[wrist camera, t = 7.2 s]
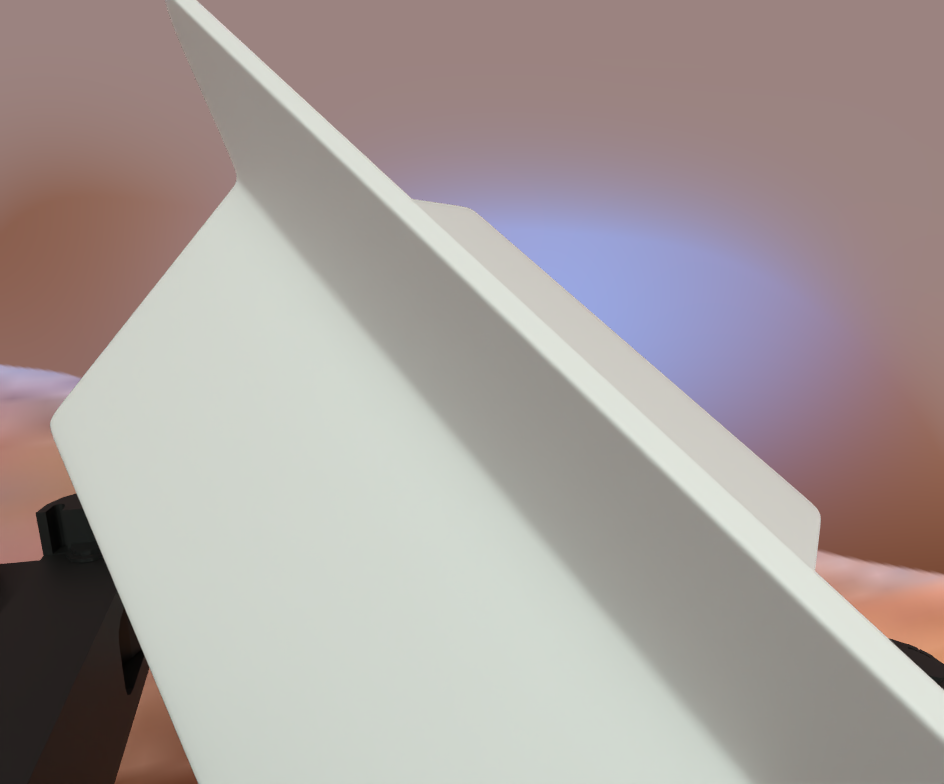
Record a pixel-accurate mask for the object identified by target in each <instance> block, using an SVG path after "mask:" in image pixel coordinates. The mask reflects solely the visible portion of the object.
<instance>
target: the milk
mask: <svg viewBox="0 0 944 784" xmlns="http://www.w3.org/2000/svg"><path fill="white" fill-rule="evenodd" d="M165 2H166V6H167V10H168V13H169V16H170V19H171V21H172V25H173V27H174V30H175V32H176V35H177V37H178V40H179V42H180V44H181V47H182V49H183V51H184V54H185V56H186V58H187V60H188V63H189V65H190V67H191V70H192V72H193V74H194V76H195V79H196V81H197V83H198V85H199V88H200V90H201V92H202V94H203V97H204V99H205V101H206V103H207V105H208V108H209V110H210V112H211V115H212V117H213V119H214V121H215V124H216V126H217V128H218V130H219V133H220V135H221V137H222V139H223V142H224V144H225V147H226V149H227V151H228V154H229V156H230V158H231V161H232V163H233V166H234V169H235V171H236V176H237V181H236V183H235V186H234V187H233V188H232V189H231V191H230V192H229V193H228V195H227V196H226V197H225V198H224V200H223V201H222V202H221V203H220V205H219V206H218V207H217V209H216V210H215V211H214V212H213V213H212V215H211V216H210V217H209V219H208V220H207V221H206V222H205V224H204V225H203V226H202V228H201V229H200V230H199V231H198V233H197V234H196V235H195V236H194V238H193V239H192V240H191V242H190V243H189V244H188V245H187V246H186V248H185V249H184V250H183V251H182V253H181V254H180V255H179V256H178V258H177V259H176V260H175V261H174V263H173V264H172V266H170V268H169V269H168V270H167V271H166V273H165V274H164V275H163V277H162V278H161V279H160V280H159V282H158V283H157V284H156V285H155V287H154V288H153V289H152V290H151V292H150V293H149V294H148V295H147V297H146V298H145V299H144V301H143V302H142V303H141V304H140V305H139V307H138V308H137V309H136V311H135V312H134V313H133V314H132V316H131V317H130V318H129V320H128V321H127V322H126V323H125V324H124V326H123V327H122V328H121V329H120V331H119V332H118V333H117V335H116V336H115V337H114V338H113V340H112V341H111V342H110V343H109V345H108V346H107V347H106V348H105V350H104V351H103V352H102V353H101V355H100V356H99V357H98V358H97V360H96V361H95V362H94V363H93V365H92V366H91V367H90V369H89V370H88V371H87V372H86V374H85V375H84V376H83V377H82V379H81V380H80V381H79V382H78V384H77V385H76V386H75V387H74V389H73V390H72V391H71V392H70V394H69V395H68V396H67V398H66V399H65V400H64V401H63V403H62V404H61V405H60V407H59V408H58V409H57V411H56V412H55V414H54V415H53V417H52V419H51V422H50V428H51V433H52V435H53V438H54V441H55V443H56V445H57V448H58V450H59V453H60V455H61V457H62V460H63V462H64V465H65V467H66V469H67V472H68V474H69V477H70V479H71V481H72V484H73V486H74V488H75V491H76V493H77V496H78V498H79V500H80V503H81V505H82V508H83V510H84V512H85V515H86V517H87V519H88V522H89V524H90V527H91V529H92V531H93V534H94V536H95V539H96V541H97V543H98V546H99V548H100V551H101V553H102V555H103V558H104V560H105V562H106V565H107V567H108V570H109V572H110V574H111V577H112V579H113V582H114V584H115V586H116V589H117V591H118V593H119V596H120V598H121V601H122V603H123V605H124V608H125V610H126V613H127V615H128V617H129V620H130V622H131V625H132V627H133V629H134V632H135V634H136V636H137V639H138V641H139V644H140V646H141V648H142V651H143V653H144V656H145V658H146V660H147V663H148V665H149V667H150V670H151V672H152V675H153V677H154V679H155V682H156V684H157V687H158V689H159V691H160V694H161V696H162V699H163V701H164V703H165V706H166V708H167V710H168V713H169V715H170V718H171V720H172V722H173V725H174V727H175V730H176V732H177V734H178V737H179V739H180V742H181V744H182V746H183V749H184V751H185V753H186V756H187V758H188V761H189V763H190V765H191V768H192V770H193V773H194V775H195V777H196V780H197V782H198V784H944V690H943V689H942V688H941V687H940V686H939V685H938V684H937V683H936V682H935V681H934V680H933V679H932V678H930V677H929V676H928V675H927V674H926V673H925V672H924V671H923V670H922V669H921V668H920V667H918V666H917V665H916V664H915V663H914V662H913V661H912V660H911V659H910V658H909V657H908V656H907V655H905V654H904V653H903V652H902V651H901V650H900V649H899V648H898V647H897V646H896V645H895V644H894V643H892V642H891V641H890V640H889V639H888V638H887V637H886V636H885V635H884V634H883V633H882V632H881V631H879V630H878V629H877V628H876V627H875V626H874V625H873V624H872V623H871V622H870V621H869V620H868V619H866V618H865V617H864V616H863V615H862V614H861V613H860V612H859V611H858V610H857V609H856V608H855V607H853V606H852V605H851V604H850V603H849V602H848V601H847V600H846V599H845V598H844V597H843V596H842V595H840V594H839V593H838V592H837V591H836V590H835V589H834V588H833V587H832V586H831V585H830V584H829V583H827V582H826V581H825V580H824V579H823V578H822V577H821V576H820V575H819V574H818V573H817V572H816V571H815V566H816V557H817V549H818V540H819V532H820V521H821V519H820V513H819V511H818V510H817V508H816V507H815V506H814V505H813V504H812V503H811V502H810V501H808V500H807V499H806V498H805V497H804V496H803V495H802V494H801V493H799V492H798V491H797V490H796V489H795V488H794V487H793V486H791V485H790V484H789V483H788V482H787V481H786V480H784V479H783V478H782V477H781V476H780V475H779V474H777V473H776V472H775V471H774V470H773V469H772V468H771V467H769V466H768V465H767V464H766V463H765V462H764V461H762V460H761V459H760V458H759V457H758V456H757V455H756V454H754V453H753V452H752V451H751V450H750V449H749V448H747V447H746V446H745V445H744V444H743V443H742V442H741V441H739V440H738V439H737V438H736V437H735V436H734V435H733V434H731V433H730V432H729V431H728V430H727V429H726V428H724V427H723V426H722V425H721V424H720V423H719V422H718V421H716V420H715V419H714V418H713V417H712V416H711V415H709V414H708V413H707V412H706V411H705V410H704V409H702V408H701V407H700V406H699V405H698V404H697V403H695V402H694V401H693V400H692V399H691V398H690V397H689V396H688V395H686V394H685V393H684V392H683V391H682V390H680V389H679V388H678V387H677V386H676V385H675V384H674V383H672V382H671V381H670V380H669V379H668V378H667V377H665V376H664V375H663V374H662V373H661V372H660V371H659V370H657V369H656V368H655V367H654V366H653V365H651V363H649V362H648V361H647V360H646V359H645V358H644V357H642V356H641V355H640V354H639V353H638V352H637V351H636V350H634V349H633V348H632V347H631V346H630V345H629V344H627V343H626V342H625V341H624V340H623V339H621V338H620V337H619V336H618V335H617V334H616V333H615V332H614V331H612V330H611V329H610V328H609V327H608V326H607V325H605V324H604V323H603V322H602V321H601V320H600V319H598V318H597V317H596V316H595V315H594V314H593V313H592V312H590V311H589V310H588V309H587V308H586V307H585V306H584V305H582V304H581V303H580V302H579V301H577V299H575V298H574V297H573V296H572V295H571V294H570V293H569V292H567V291H566V290H565V289H564V288H563V287H562V286H561V285H559V284H558V283H557V282H556V281H555V280H554V279H552V278H551V277H550V276H549V275H548V274H547V273H546V272H544V271H543V270H542V269H541V268H540V267H539V266H537V265H536V264H535V263H534V262H533V261H532V260H530V259H529V258H528V257H527V256H526V255H524V254H523V253H522V252H521V251H520V250H519V249H518V248H516V247H515V246H514V245H513V244H512V243H511V242H510V241H509V240H507V239H506V238H505V237H504V236H503V235H502V234H500V233H499V232H498V231H497V230H496V229H495V228H494V227H492V226H491V225H490V224H489V223H488V222H487V221H485V220H484V219H483V218H482V217H481V216H480V215H478V214H477V213H476V212H475V211H473V210H472V209H470V208H466V207H461V206H455V205H448V204H442V203H435V202H428V201H421V200H415V199H411V198H410V197H409V196H408V195H407V194H406V193H405V192H404V191H403V190H402V189H400V188H399V187H398V186H397V185H396V184H395V183H394V182H393V181H392V180H391V179H390V178H389V177H387V176H386V175H385V174H384V173H383V172H382V171H381V170H380V169H379V168H378V167H377V166H375V165H374V164H373V163H372V162H371V161H370V160H369V159H368V158H367V157H366V156H365V155H364V154H363V153H361V152H360V151H359V150H358V149H357V148H356V147H355V146H354V145H352V143H351V142H350V141H348V140H347V139H346V138H345V137H344V136H343V135H342V134H341V133H340V132H339V131H337V130H336V129H335V128H334V127H333V126H332V125H331V124H330V123H329V122H328V121H327V120H326V119H325V118H323V117H322V116H321V115H320V114H319V113H318V112H317V111H316V110H315V109H314V108H313V107H312V106H310V105H309V104H308V103H307V102H306V101H305V100H304V99H303V98H302V97H301V96H300V95H299V94H297V93H296V92H295V91H294V90H293V89H292V88H291V87H290V86H289V85H288V84H287V83H286V82H285V81H283V80H282V79H281V78H280V77H279V76H278V75H277V74H276V73H275V72H274V71H272V69H270V68H269V67H268V66H267V65H266V64H265V63H264V62H263V61H262V60H261V59H259V57H257V56H256V55H255V54H254V53H253V52H252V51H251V50H250V49H249V48H248V47H247V46H245V45H244V44H243V43H242V42H241V41H240V40H239V39H238V38H237V37H236V36H235V35H234V34H232V33H231V32H230V31H229V30H228V29H227V28H226V27H225V26H224V25H223V24H222V23H221V22H219V21H218V20H217V19H216V18H215V17H214V16H213V15H212V14H211V13H210V12H209V11H208V10H206V9H205V8H204V7H203V6H202V5H201V4H200V3H199V2H198V1H197V0H165Z"/></svg>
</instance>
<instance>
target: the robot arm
mask: <svg viewBox="0 0 944 784" xmlns="http://www.w3.org/2000/svg"><path fill="white" fill-rule="evenodd" d="M36 517H37V523H38V528H39V533H40V539H41V544H42V549H43V555H44V556H43V557H42V559H41V560H40V561H29V562H18V563H7V564H0V784H114V783H115V780H116V776H117V773H118V770H119V766H120V763H121V760H122V756H123V753H124V750H125V746H126V743H127V740H128V737H129V733H130V730H131V727H132V723H133V720H134V717H135V713H136V710H137V707H138V704H139V700H140V697H141V694H142V690H143V687H144V684H145V680H146V677H147V674H148V670H149V665H148V663H147V660H146V658H145V656H144V653H143V651H142V648H141V646H140V644H139V641H138V639H137V636H136V634H135V632H134V629H133V627H132V625H131V622H130V620H129V617H128V615H127V613H126V610H125V608H124V605H123V603H122V601H121V598H120V596H119V593H118V591H117V589H116V586H115V584H114V582H113V579H112V577H111V574H110V572H109V570H108V567H107V565H106V562H105V560H104V558H103V555H102V553H101V551H100V548H99V546H98V543H97V541H96V539H95V536H94V534H93V531H92V529H91V527H90V524H89V522H88V519H87V517H86V515H85V512H84V510H83V508H82V505H81V503H80V500H79V498H78V496H77V494H73V495H70V496H66V497H63V498H61V499H58V500H56V501H54V502H52V503H49V504H47V505H46V506H44V507H43V508H42V509H40V510H39V511H38V512H36ZM888 639H889V638H888ZM889 640H890V641H891V642H892V643H894V644H895V645H896V646H897V647H898V648H899V649H900V650H901V651H902V652H903V653H904V654H905V655H907V656H908V657H909V658H910V659H911V660H912V661H913V662H914V663H915V664H916V665H917V666H918V667H920V668H921V669H922V670H923V671H924V672H925V673H926V674H927V675H928V676H929V677H930V678H932V679H933V680H934V681H935V682H936V683H937V684H938V685H939V686H940V687H941V688H942V689H943V690H944V664H943V663H941V662H940V661H938V660H937V659H935V658H934V657H933V656H932V655H930V654H928V653H927V652H925V651H923V650H921V649H920V650H919V649H918V648H916V647H914V646H912V645H909V644H905V643H902V642H899V641H896V640H893V639H889Z"/></svg>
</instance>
